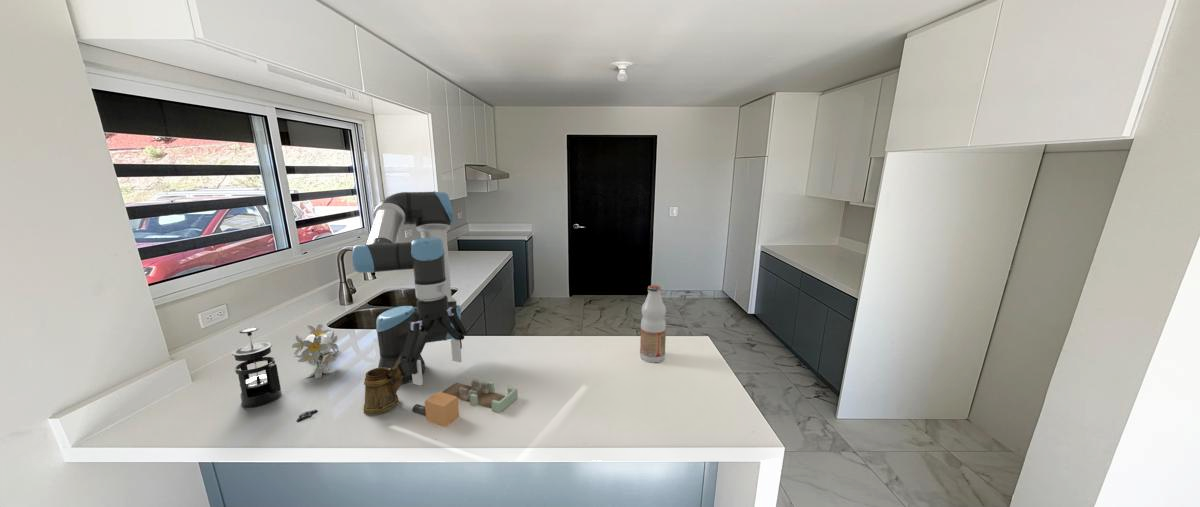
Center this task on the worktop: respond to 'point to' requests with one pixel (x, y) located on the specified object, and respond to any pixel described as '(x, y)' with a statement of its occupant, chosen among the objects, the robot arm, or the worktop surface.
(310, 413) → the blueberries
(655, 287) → the fruit juice
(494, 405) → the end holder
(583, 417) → the worktop surface
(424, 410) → the plug
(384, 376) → the wooden mug
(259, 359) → the french press
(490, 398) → the board
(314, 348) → the flower vase
